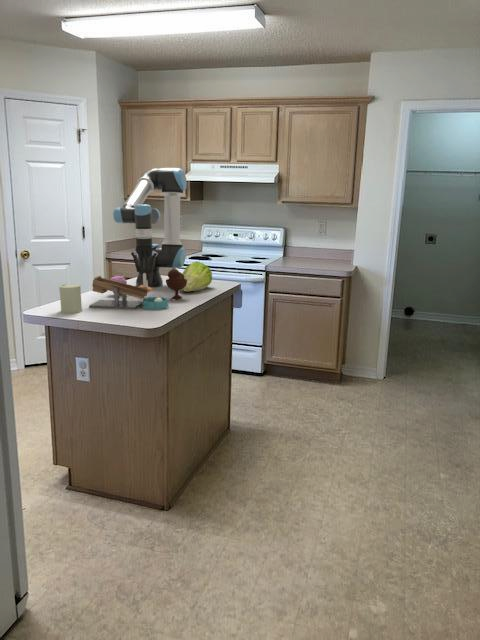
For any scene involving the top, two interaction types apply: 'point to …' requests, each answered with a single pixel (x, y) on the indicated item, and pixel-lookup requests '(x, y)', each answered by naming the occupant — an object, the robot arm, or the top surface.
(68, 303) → the can
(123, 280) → the cupcake
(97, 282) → the chute
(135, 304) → the chute stand
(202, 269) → the lettuce
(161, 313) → the top surface
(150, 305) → the teal bowl
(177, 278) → the ice cream bowl
